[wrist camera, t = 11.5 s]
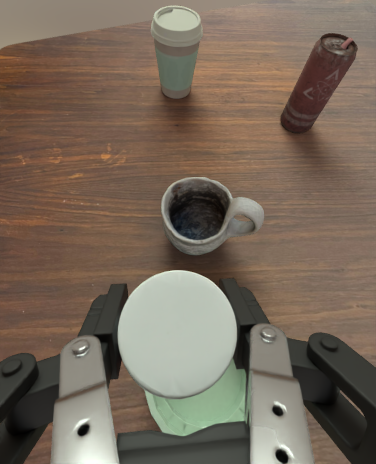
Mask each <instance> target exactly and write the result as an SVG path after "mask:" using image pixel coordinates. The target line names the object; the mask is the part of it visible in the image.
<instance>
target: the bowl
mask: <svg viewBox="0 0 376 464" xmlns="http://www.w3.org/2000/svg"><path fill="white" fill-rule="evenodd" d="M245 381H246V373H245V370H244V369H237V370H236V366H235V363H234V360H233V358H232V361H231V363H230V365H229V367H228V369H227V370H226V372H225V373H224V375H223V376H222V377H221V378H220V379H219V380H218V381H217V383H215V384H214V385H213V386H212V387H210V388H209V389H207V390H206V391H204V392H203V393H200V394H198V395H196V396H193V397H188V398H185V399H180V400H179V399H165V398H161V397H158V396H155V395H153V394H151V393H149V392H147V391H146V390H145V394H146V398H147V402H148V405H149V409H150V413H151V415H152V416H153V418H154V420H155V421H156V423H157V424H158V426H159V428H160V429H161V431H162V432H163V433H168V434H173V435H178V436H186V435H189V434H191V433H194V432H196V431H199V430H201V429H203V428H206V427H208V426H211V425H213V424H217V423H226V422H236V421H244V407H245Z"/></svg>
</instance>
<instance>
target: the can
mask: <svg viewBox="0 0 376 464" xmlns="http://www.w3.org/2000/svg"><path fill="white" fill-rule="evenodd" d="M357 49H358V48H357V45H356V43H355V42H354V41H353V39H352V38H348V37H346V36H344V35H341V34H335V33H328V34H325V35H323V36H322V37H321V38H320V39H319V40H318V41H317V42H316V44H315V46H314V48H313V50H312V52H311V54H310V56H309V58H308V60H307V62H306V64H305V67H304V69H303V71H302V73H301V75H300V77H299V79H298V81H297V83H296V85H295V87H294V90H293V92H292V94H291V96H290V98H289V100H288V102H287V104H286V106H285V108H284V110H283V113H282V115H281V123H282V125H283V126H284V127H285V128H286V129H287V130H288V131H291V132H293V133H303V132H306V131H308V130H309V129H310V128H311V127H312V125H313V124H314V122H315V121H316V119H317V117H318V116H319V114H320V113H321V111H322V110H323V108H324V106H325V105H326V103H327V102H328V100H329V99H330V97H331V96H332V94H333V92H334V91H335V89H336V88H337V86H338V85H339V83H340V81H341V80H342V78H343V77H344V75H345V74H346V72H347V71H348V69H349V67H350V66H351V64H352V63H353V61H354V60H355V57H356V52H357Z"/></svg>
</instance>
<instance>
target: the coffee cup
mask: <svg viewBox="0 0 376 464" xmlns="http://www.w3.org/2000/svg"><path fill="white" fill-rule="evenodd" d="M151 34H152V36H153V37H154V43H155V50H156V57H157V63H158V70H159V77H160V83H161V89H162V92H163V93H164V94H165V95H166V96H168V97H170V98H174V99H179V98H183V97H185V96H187V95H188V94H189V92H190V88H191V83H192V78H193V73H194V68H195V63H196V58H197V53H198V48H199V43H200V40H201V38H202V35H203V33H202V26H201V20H200V17H199V15H198V14H197V13H196V12H195V11H193V10H191V9H189V8H186V7H181V6H167V7H163V8H161V9H159V10H158V11H156V12H155V14H154V18H153V22H152V25H151Z"/></svg>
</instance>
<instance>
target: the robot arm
mask: <svg viewBox="0 0 376 464" xmlns="http://www.w3.org/2000/svg"><path fill="white" fill-rule="evenodd" d="M219 289H220V290H221V291H222V292H223V293H224V295H225V296H226V297H227V299H228V301H229V303H230V305H231V307H232V309H233V312H234V315H235V320H236V325H237V342H236V348H235V352H234V355H233V360H234V363H235V366H236V370H237V369H244V370H245V373H246V381H245V407H244V421H236V422H226V423H217V424H213V425H211V426H208V427H206V428H203V429H201V430H199V431H196V432H194V433H191V434H189V435H186V436H178V435H173V434H168V433H163V432H157V431H152V430H147V431H137V432H127V433H118V437H117V443H116V439H115V433H114V426H113V420H112V414H111V407H110V401H109V394H108V388H109V383H110V379H118V377H119V371H120V366H121V361H122V358H121V355H120V352H119V346H118V324H119V319H120V316H121V313H122V310H123V308H124V305H125V303H126V302H127V300H128V289H127V284H111V286H110V289H109V291H108V294H106V295H100V296H98V297H97V298H96V299H95V300H94V301H93V303H92V305H91V307H90V310H89V312H88V314H87V316H86V319H85V321H84V323H83V325H82V328H81V330H80V332H79V334H78V336H77V338H74V339H73V340H71V341H69V342H68V343H67V344H66V345H65V346H64V347H63V349H62V351H61V354H59V355H56V356H53V357H50V358H47V359H44V360H41V361H37V362H36V359H35V357H34V356H33V355H32V354H29V353H20V354H16V355H13V356H10V357H8V358H6V359H4V360H3V361H1V362H0V464H23V463H24V461H25V460H26V458H27V457H28V455H29V454H30V452H31V451H32V449H33V447H34V446H35V444H36V443H37V441H38V440H39V438H40V437H41V435H42V434H43V432H44V431H45V429H46V427H47V426H48V424H49V423H50V422H53V433H52V450H51V464H315V461H314V456H313V451H312V446H311V440H310V435H309V430H308V425H307V420H306V414H305V409H304V405H305V407H306V408H307V409H308V410H309V412H310V413H311V414H312V415H313V417H314V418H315V419H316V420H317V422H318V423H319V424H320V425H321V427H322V428H323V429H324V430H325V431H326V433H327V434H328V435H329V436H330V438H331V439H332V440H333V441H334V443H335V444H336V445H337V446H338V448H339V449H340V450H341V451H342V453H343V454H344V455H345V456H346V458H347V459H348V460H349V461H350V462H351V464H376V367H374V366H373V365H372V364H371V363H369V362H368V361H367V360H365V359H364V358H363V357H362V356H360V355H359V354H358V353H357V352H355V351H354V350H353V349H352V348H350V347H349V346H348V345H347V344H345V343H344V342H343V341H341V340H340V339H339V338H337V337H335V336H333V335H330V334H327V333H314V334H312V335H311V336H310V337H309V340H308V342H306V341H300V340H295V339H290V338H287V337H286V335H285V333H284V332H283V331H282V330H281V329H279V328H278V327H276V326H274V325H271V324H270V322H269V320H268V319H267V317H266V315H265V314H264V312H263V310H262V309H261V307H260V306H259V304H258V302H257V301H256V298H255V297H254V295H253V293H252V292H251V291H249V290H248V289H247V288H245V287H240V288H239V286H238V284H237V283H236V281H235V279H234V278H229V279H220V280H219ZM340 390H341V391H342V392H343V393H344V394H345V395H346V396H347V397H348V398H349V399H350V400H351V401H352V402H353V403H354V404H355V405H356V406H357V407H358V408H359V409H360V410H361V411H362V413H363V414H364V416H365V417H364V416H363V415H362V414H361V413H360V412H359V411H358V410H357V409H356V408H355V407H354V406H353V405H352V404H351V403H350V402H349V401H348V400H347V399H346V398H345V397H344V396H343V395H342V394H341V393H340ZM2 421H3V422H2ZM1 422H2V423H1Z"/></svg>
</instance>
